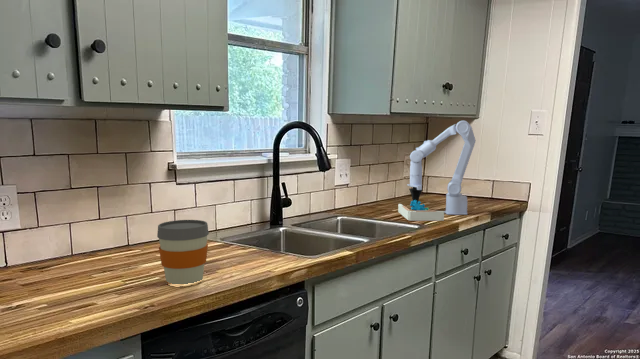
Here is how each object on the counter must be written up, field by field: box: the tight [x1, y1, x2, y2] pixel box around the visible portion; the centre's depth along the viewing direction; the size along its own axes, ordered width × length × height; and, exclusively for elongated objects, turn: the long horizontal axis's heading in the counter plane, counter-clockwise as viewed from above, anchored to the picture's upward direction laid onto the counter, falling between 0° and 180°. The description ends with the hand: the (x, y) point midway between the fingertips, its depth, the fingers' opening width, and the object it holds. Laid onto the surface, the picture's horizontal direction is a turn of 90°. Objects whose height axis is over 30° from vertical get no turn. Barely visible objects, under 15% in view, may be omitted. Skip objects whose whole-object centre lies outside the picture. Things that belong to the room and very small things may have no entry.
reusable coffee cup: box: [156, 219, 210, 284], centre depth 117 cm, size 13×12×15 cm
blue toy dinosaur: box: [409, 200, 430, 211], centre depth 210 cm, size 11×6×10 cm
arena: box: [397, 203, 445, 222], centre depth 211 cm, size 16×22×4 cm
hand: (415, 203), depth 223 cm, fingers closed
